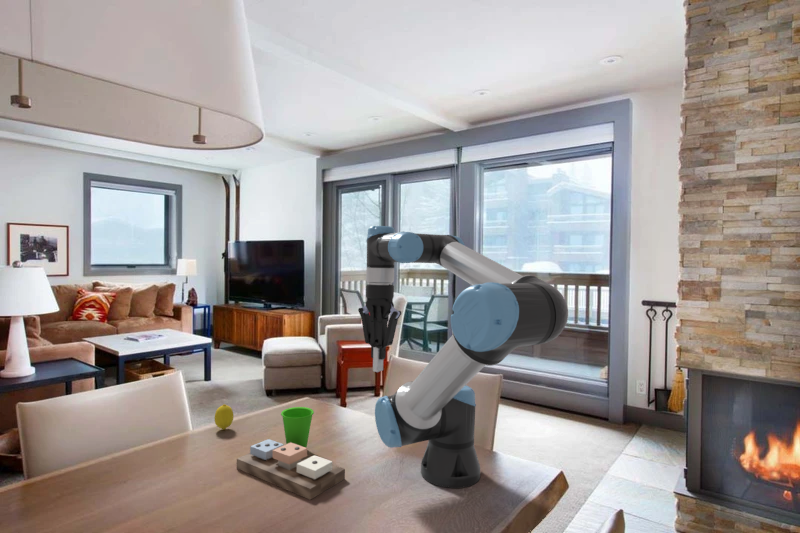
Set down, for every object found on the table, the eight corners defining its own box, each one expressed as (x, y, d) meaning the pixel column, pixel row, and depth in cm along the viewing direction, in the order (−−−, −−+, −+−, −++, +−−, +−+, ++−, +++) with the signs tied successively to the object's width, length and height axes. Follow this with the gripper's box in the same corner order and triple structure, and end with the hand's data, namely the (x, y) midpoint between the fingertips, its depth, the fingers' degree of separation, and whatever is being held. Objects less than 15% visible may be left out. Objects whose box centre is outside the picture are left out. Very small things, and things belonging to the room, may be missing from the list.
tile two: (306, 465, 115) (307, 447, 115) (289, 474, 110) (289, 455, 110) (290, 459, 119) (290, 441, 119) (272, 467, 114) (272, 449, 114)
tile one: (332, 479, 111) (332, 460, 111) (314, 489, 106) (315, 469, 106) (314, 472, 114) (314, 454, 114) (296, 482, 109) (296, 463, 109)
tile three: (283, 460, 120) (283, 443, 120) (265, 469, 115) (265, 451, 115) (268, 455, 123) (268, 438, 123) (250, 463, 118) (250, 445, 118)
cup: (309, 458, 124) (310, 418, 123) (276, 457, 124) (276, 417, 124) (316, 444, 133) (316, 407, 132) (285, 443, 133) (285, 406, 133)
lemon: (236, 429, 143) (237, 403, 143) (221, 434, 138) (222, 408, 138) (225, 425, 146) (226, 400, 146) (210, 430, 141) (210, 404, 141)
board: (344, 478, 113) (344, 468, 113) (310, 499, 103) (310, 488, 102) (273, 452, 127) (273, 443, 127) (236, 468, 117) (236, 458, 117)
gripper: (407, 284, 122) (405, 371, 123) (369, 282, 129) (367, 364, 130) (392, 285, 116) (389, 377, 116) (352, 282, 123) (350, 369, 123)
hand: (377, 370), depth 123 cm, fingers closed
